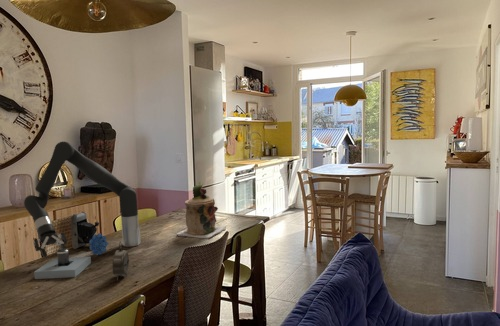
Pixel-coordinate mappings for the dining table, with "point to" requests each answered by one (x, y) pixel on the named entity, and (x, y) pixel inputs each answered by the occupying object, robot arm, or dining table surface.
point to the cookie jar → (200, 215)
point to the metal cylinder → (63, 257)
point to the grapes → (98, 244)
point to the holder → (62, 268)
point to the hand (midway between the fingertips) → (55, 253)
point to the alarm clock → (120, 262)
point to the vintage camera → (81, 230)
